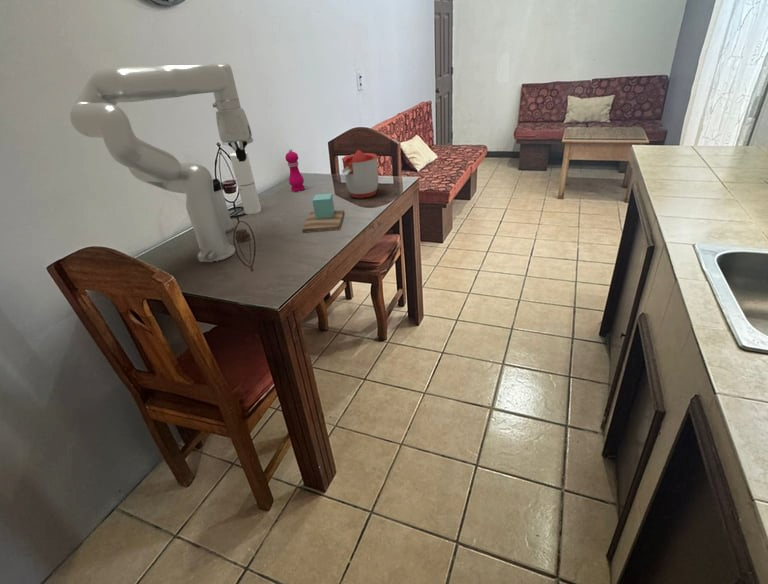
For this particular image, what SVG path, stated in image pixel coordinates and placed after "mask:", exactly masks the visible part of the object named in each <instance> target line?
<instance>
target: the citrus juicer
mask: <svg viewBox="0 0 768 584" xmlns="http://www.w3.org/2000/svg"><path fill="white" fill-rule="evenodd" d="M377 157H378V154H375V153H371V152H363V151H361V150H360V149H358V150H356V151H355V153H353V154H349V155H345V156H344V157H343V156H342V159H341V161H342V166H343V169H342V170H341V172H342V173H341V174H343V175H344V179H345V180H344V181H345V185H346V188H347V190H348V193H349V195H350V196H351V198H355V199H365V198H364V197H366V198H369V197H373V196H375V195H376V194H377V191H378V187H379V169H378V168H379V167H378V158H377Z"/></svg>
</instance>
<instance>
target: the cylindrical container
mask: <svg viewBox="0 0 768 584" xmlns="http://www.w3.org/2000/svg"><path fill="white" fill-rule="evenodd" d="M245 152H246V156H247V158H246V160H245V161H244V162H242V161H241V162H239V159H237V156H236V152H232V153H230V154H229V159H230V162H231V166H232V169H233V170H232V171H233V173H234V176H235V177H234V178H235V180H236V185H237V188H238V192H239V196H240V200H241V203H242V208H243V211H244V214H245V215H246V214H247V215H255V214H258V213H260V212H261V211H262V207H261V204H260V200H259V199H260V198H259V195H258V190H257V186H256V182H255V178H254V174H253V172H252V171H253V170H252V166H251V163H250V162H251V161H250V159H249V158H250V157H249V154H248V152H247V151H245Z"/></svg>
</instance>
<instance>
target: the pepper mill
mask: <svg viewBox="0 0 768 584" xmlns="http://www.w3.org/2000/svg"><path fill="white" fill-rule="evenodd" d="M298 160H299V155H298V153H297V152H295V151H293V148H289V149H288V152H287V153H286V154H285V161H286V162H287V166H288V167H289V177H288V184H289V185H290V186H291V187H290V188H291V191H292V192H293V193H299V192H298V191H300V192H302V191H305V185H304V184H305V183H304V182H305V179H304V177H303V175H302V173H301V172H300V169H299V161H298Z"/></svg>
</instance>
